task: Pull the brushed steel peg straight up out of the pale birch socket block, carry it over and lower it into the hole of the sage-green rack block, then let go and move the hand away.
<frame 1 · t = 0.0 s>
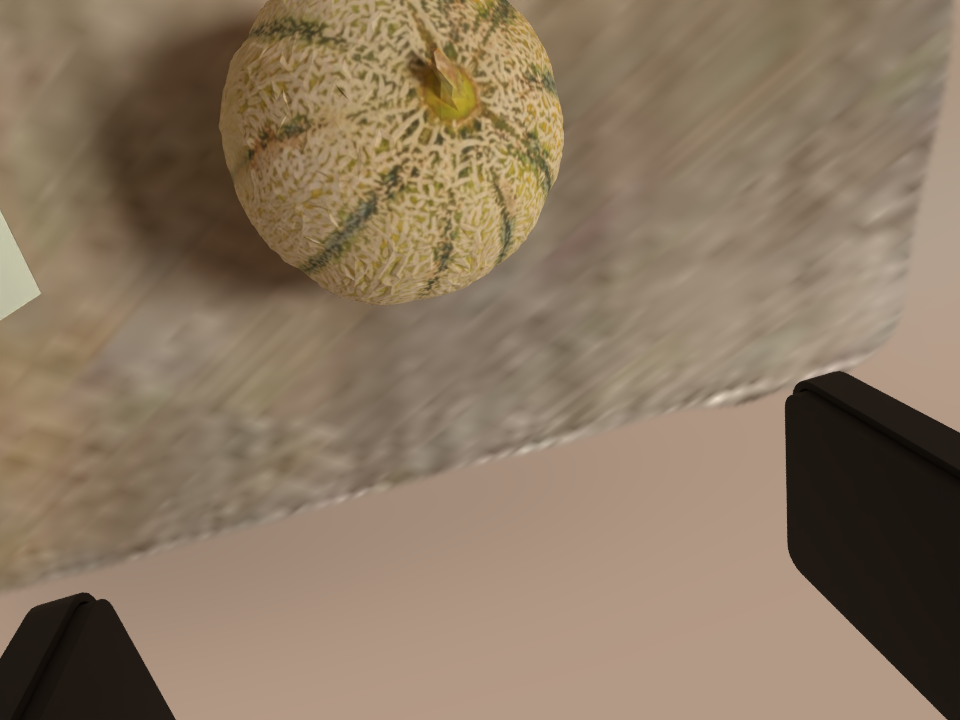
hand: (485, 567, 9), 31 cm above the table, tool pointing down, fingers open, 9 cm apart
cantaloupe: (385, 133, 36), on the table
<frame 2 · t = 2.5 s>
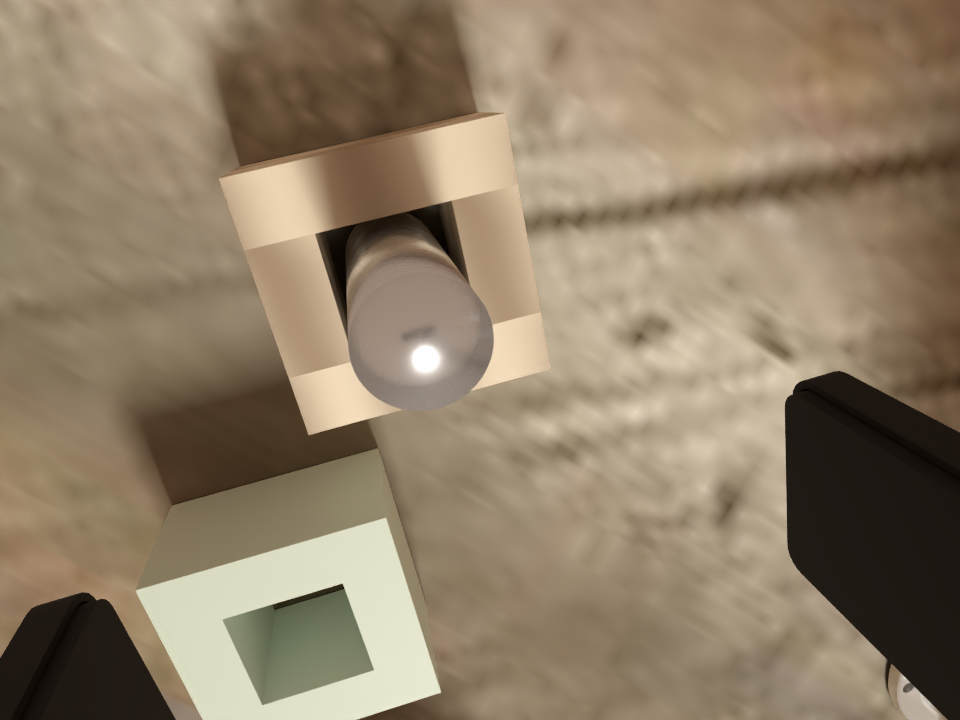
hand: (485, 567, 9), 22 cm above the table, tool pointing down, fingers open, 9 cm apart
steel peg: (403, 289, 24), in the socket block
socket block: (391, 255, 29), on the table
rack block: (307, 558, 34), on the table
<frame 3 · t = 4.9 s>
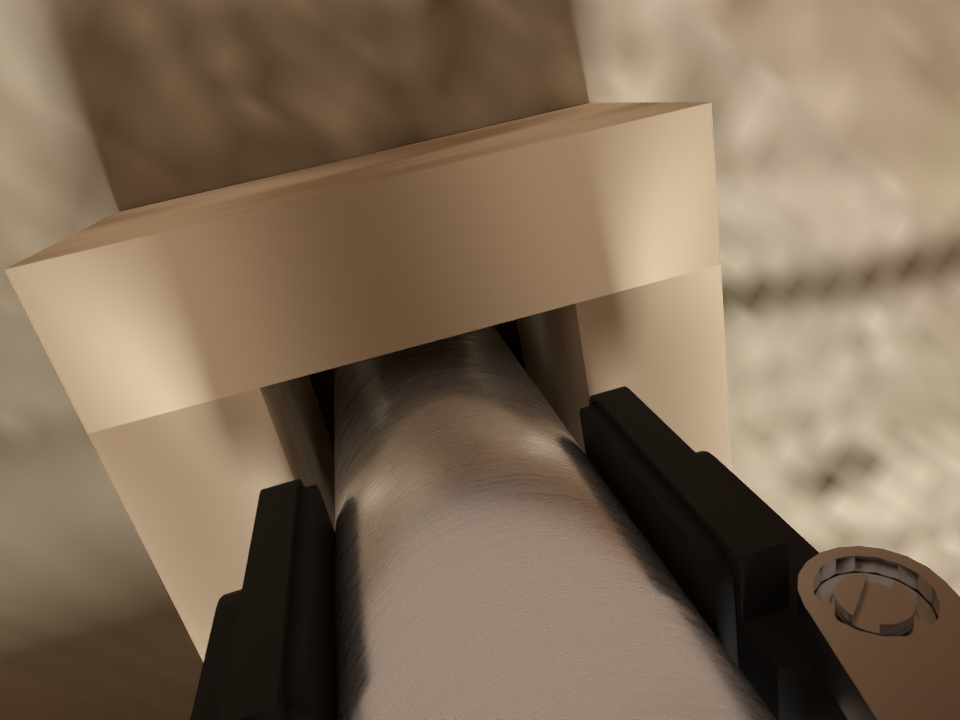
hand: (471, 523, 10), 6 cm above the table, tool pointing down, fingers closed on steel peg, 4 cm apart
steel peg: (467, 512, 10), in the socket block, touching gripper
socket block: (420, 369, 16), on the table
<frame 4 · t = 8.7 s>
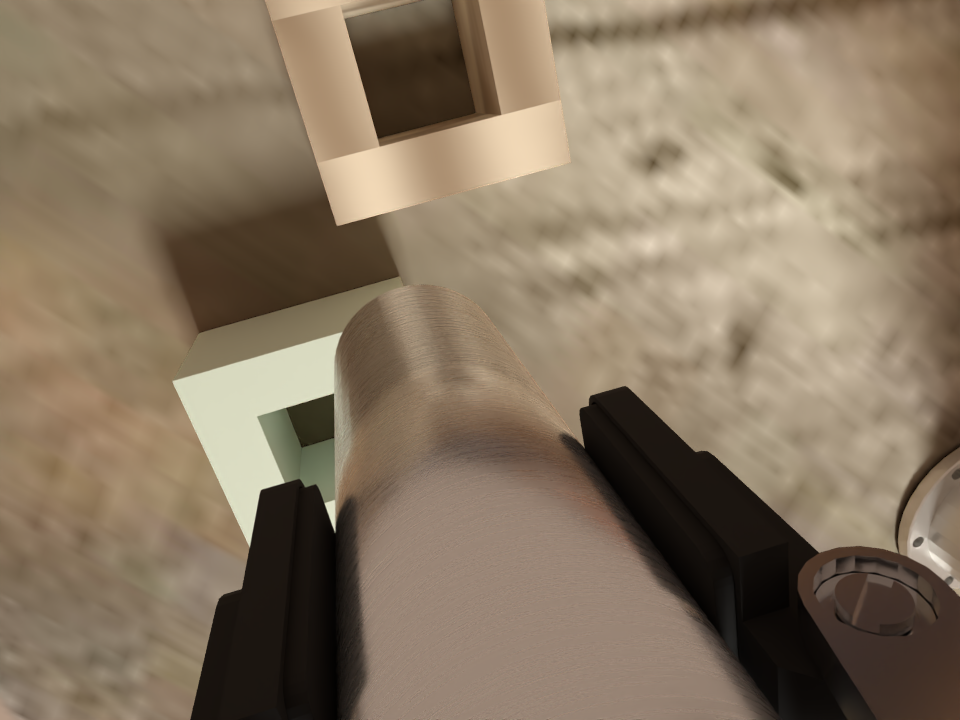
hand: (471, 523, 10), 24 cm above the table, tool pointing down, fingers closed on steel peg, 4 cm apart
steel peg: (467, 508, 10), point 24 cm above the table, touching gripper
socket block: (410, 68, 30), on the table
rack block: (333, 393, 34), on the table
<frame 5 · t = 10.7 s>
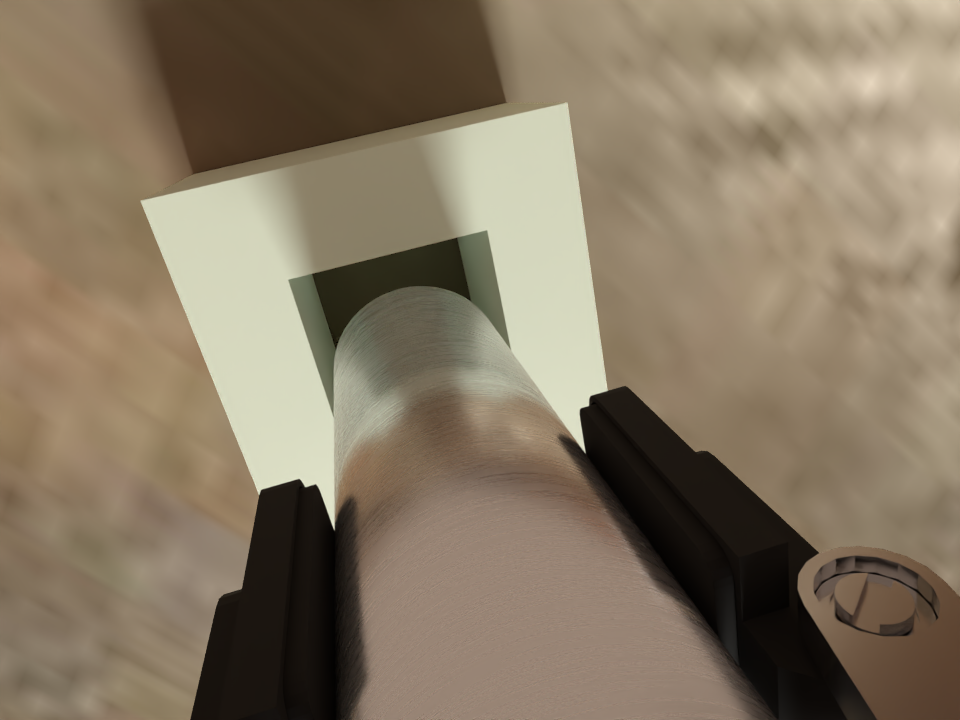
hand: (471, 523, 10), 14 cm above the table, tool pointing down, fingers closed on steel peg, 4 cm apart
steel peg: (467, 510, 10), point 14 cm above the table, touching gripper
rack block: (394, 288, 23), on the table
when the fingers open (9 cm above the table, at t = 12.5 s): steel peg drops 2 cm, resting in rack block.
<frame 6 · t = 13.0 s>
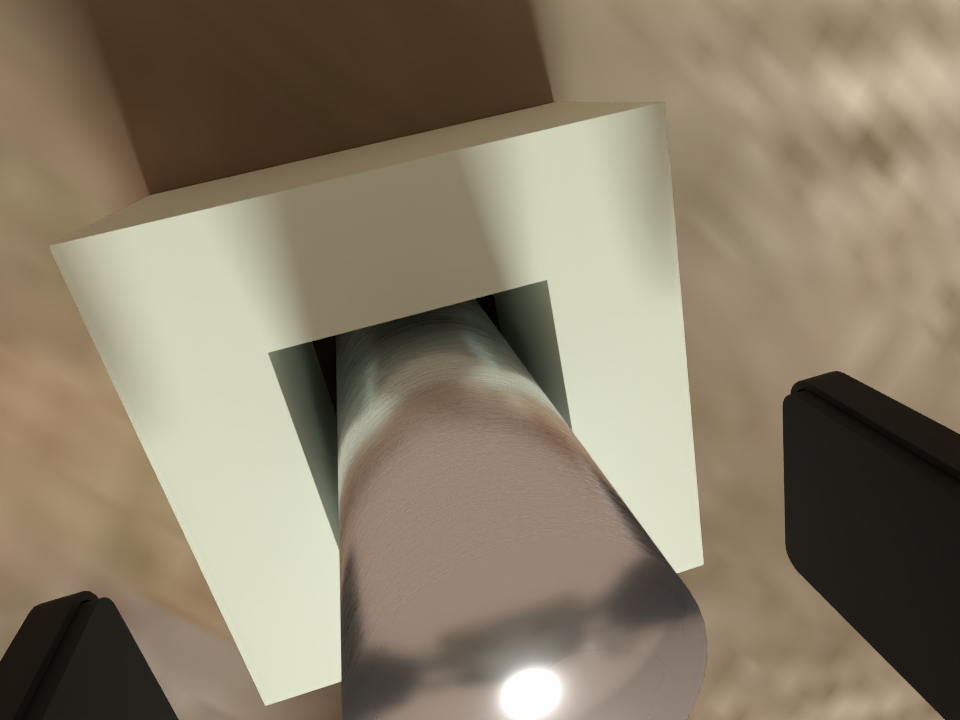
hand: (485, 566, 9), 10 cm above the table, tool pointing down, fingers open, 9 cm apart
steel peg: (445, 437, 12), in the rack block
rack block: (408, 335, 18), on the table
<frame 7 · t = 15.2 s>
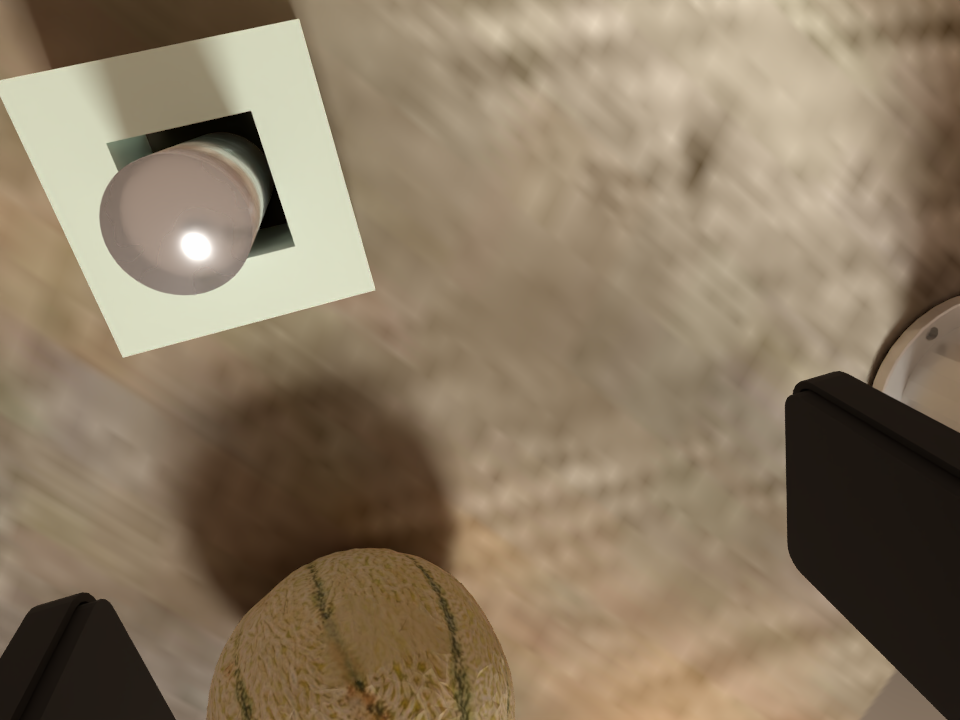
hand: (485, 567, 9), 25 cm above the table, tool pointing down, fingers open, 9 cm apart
steel peg: (207, 197, 24), in the rack block
cantaloupe: (356, 598, 40), on the table
rack block: (225, 179, 30), on the table
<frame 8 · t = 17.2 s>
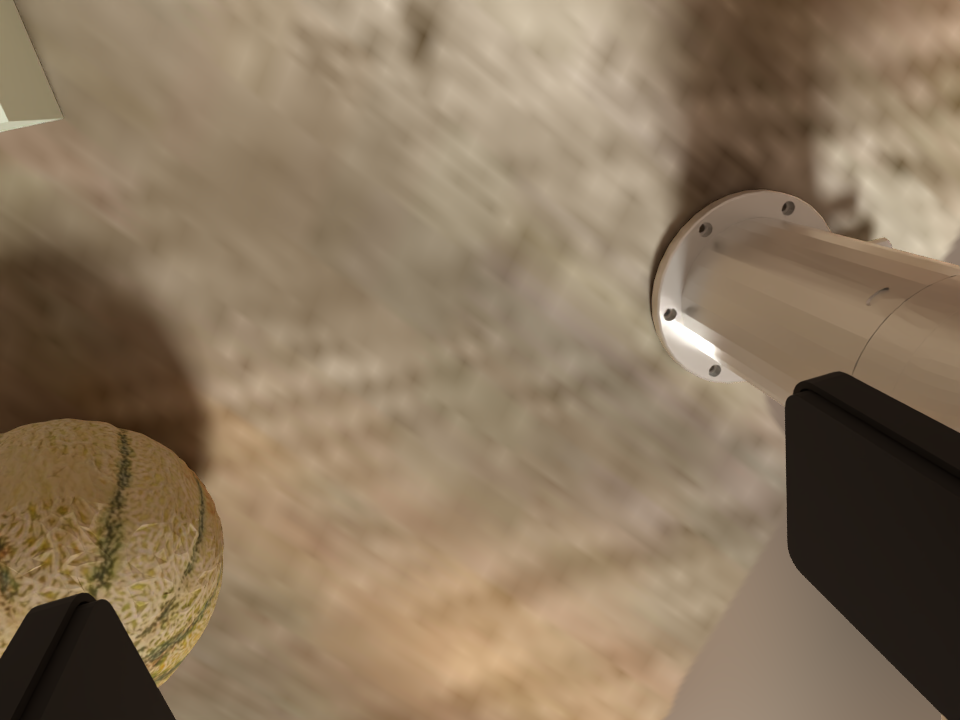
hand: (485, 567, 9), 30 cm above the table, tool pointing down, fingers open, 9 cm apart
cantaloupe: (111, 489, 39), on the table
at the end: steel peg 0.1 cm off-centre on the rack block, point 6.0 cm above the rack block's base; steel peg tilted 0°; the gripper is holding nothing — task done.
